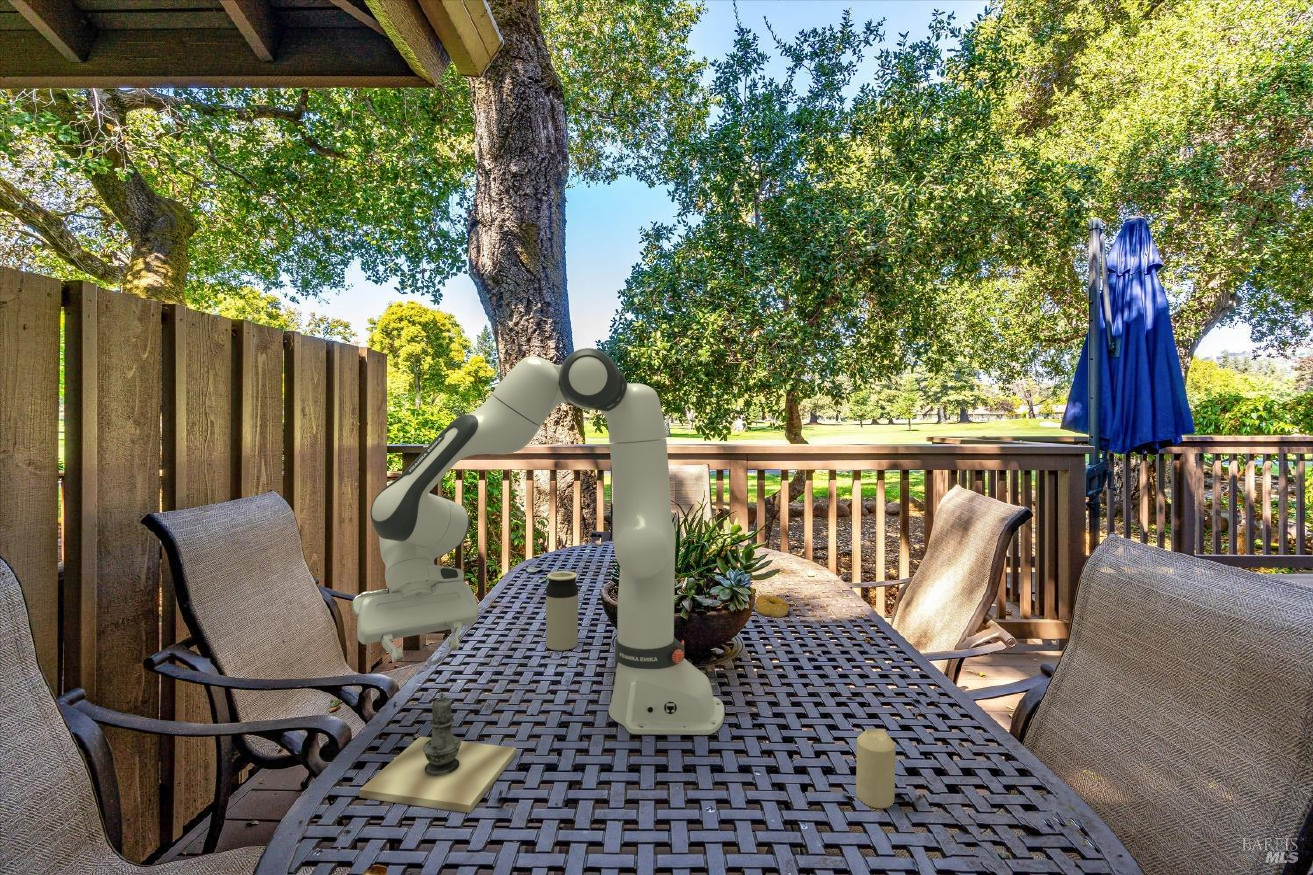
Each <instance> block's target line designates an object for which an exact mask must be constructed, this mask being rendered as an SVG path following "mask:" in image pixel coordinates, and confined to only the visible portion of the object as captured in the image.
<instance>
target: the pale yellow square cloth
mask: <svg viewBox="0 0 1313 875" xmlns="http://www.w3.org/2000/svg"><path fill="white" fill-rule="evenodd" d="M431 738H432V737H430V736H429V737H427V736H419V737H418V738H417V739H416V740H414V741H413V742H412V743H410V745H408V747H406V748H405V749H404V750H402V752H400V753H399V754H398V755H397V756H396V757H395V758H394V759H393V760H391V762H389V763H388V764H387V765H385V766H384V767H383V768H382V769H381V770H380V771H379V772H377V774H375V775H374V776H373V777H372V778H371V779H370V780H369V781H367V782H366V783H365V784H364V785H363V786H362V787H360V789H358V790H359V791H358V792H359V793H358V794H359V798H360V799H361V798H362V799H367V800H368V799H369V800H374V801H375V800H376V801H382V802H390V803H397V804H402V805H412V806H417V807H425V808H431V809H439V810H444V811H445V810H446V811H453V812H459V813H467V814H471V812H472V811H473V810H474V809H475V808H476V806H477V805H478V804H479V803H480V802H481V800H482V799H483V798H484V796H485V795H486V794H485V793H488V791H489V790H490V789H491V787H492V786H493V785H494V784H495V782H496V781H497V780H498V778H500V776H501V775H500V774H502V773H503V772H504V771H505V769H507V767H508V766H509V765H510V763H511V762H512V761H513V760H514V758H515V757H516V756H517V747H513V746H504V745H496V744H488V743H478V742H471V741H469V742H468V741H462V740H461V745H460V747H459V751H458V754H457V756H456V757H455V758H456V759H457V760H458V761H459V767H458V768H457V769H456V770H455V771H454V772H452V773H450V774H447V775H443V776H431V775H428V774H427V773H426V772H425V767H426V765H427V764H428V763H429V761H428V760H427V758H426V756H425V753H424V752H423V745H424V744H425V743H426V742H427V741H429V740H430V739H431ZM484 794H485V795H484Z"/></svg>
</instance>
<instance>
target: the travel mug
mask: <svg viewBox="0 0 1313 875" xmlns="http://www.w3.org/2000/svg"><path fill="white" fill-rule="evenodd" d="M577 576H578V574H577V573H576V572H574V571H569V570H568V571H567V570H564V571H562V570H559V571H552V572H549V573H548V574H547V575H546V577H547V580H548V583H547V586H546V587H545V646H546V647H547V649H550V650H552V651H560V652H563V651H569V649H570V650H572V649H575V648H576V647H577V646H578V645H579V586H578V584H577V582H576V581H577V580H576V579H577Z"/></svg>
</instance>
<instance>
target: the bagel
mask: <svg viewBox="0 0 1313 875" xmlns="http://www.w3.org/2000/svg"><path fill="white" fill-rule="evenodd" d="M754 606H755V610H756V612H757V614H759V615H761V616H764V617H770V618H777V619H780V618H783V617H786V616H787V615H788V613H789V608H790V606H789V604H787V602H786V601H785V599H783V598H782V597H778V596H774V595H768V594H767V595H766V594H760V595H758V597H756V600H755V603H754Z"/></svg>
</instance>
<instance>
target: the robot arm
mask: <svg viewBox="0 0 1313 875" xmlns="http://www.w3.org/2000/svg"><path fill="white" fill-rule="evenodd" d="M626 379H627V378H626V377H624V375H623V373H622V372H621V371H620V369H619V367H618V366H617V364H616V363H615V361H614V360H613V358H611V357H610V356H609V355H608V354H606V353H605V352H603V351H602V350H600V349H597V348H590V347H589V348H588V347H587V348H586V347H585V348H580V349H577V350H575V351H572V352H571V353H570V354H569V355H567V357H566V358H565V359H564V361H563V362H562V363H561V364H554V363H552V362H551V361H550V360H547V359H546V358H543V357H540V356H535V355H533V356H532V355H530V356H526V357H524V358H522V359H521V360H520V361H519V362H518V363H516V365H514V366H513V367H512V369H511V370H510V371H509V372H508V373H507V374H506V375H505V376H504V377H503V378H502V380H501V381H500V382H499V383H498V385H497V386H496V387H495V389H494V390H493V391H492V393H491V394H490V396H489V397H488V398H487V399H486V400H485V401H484V403H482V404H481V405H480V406H479V407H478V408H476V409H475V410H474V411H472V412H470V413H468V414H465V415H464V414H463V415H459V416H457V418H455V419H453V420H452V421H451V422H450V423H449V424H448V425H447V426H446V427H445V428H444V429H443V430H442V431H440V433H439V434H437V436H436V437H435V438H434V439H433V440H432V441H431V442H430V444H429V445H428V446H427V447H426V448H425V449H424V450H422V452H421V453H420V454H419V455H418V456H417V457H416V458H415V460H413V461H412V462H411V464H410V465H409V466H408V467H407V468H406V469H405V470H404V471H403V472H402V473H401V474H400V475H399V476H398V477H397V478H396V479H395V480H393V481H392V482H391V483H389V484H388V485H386V487H384V488H383V489H381V491H380V492H379V493H378V494H377V495H376V496H375V498H374V500H373V501H372V504H371V507H370V520H371V523H372V526H373V528H374V530H375V532H376V533H377V535H378V543H379V550H380V557H381V560H382V562H383V564H384V566H385V571H384V579H385V585H386V588H382V589H376V590H371V591H369V590H368V591H363V592H360V594H358V595H356V596H355V597H354V598H353V600H352V602H351V603H352V604H351V605H352V611H353V613H354V615H355V616H357V625H356V626H357V627H356V632H357V633H356V634H357V640H358V642H359V643H361V644H362V645H369V644H375V643H381V645H382V648H383V649H384V650H385V651H386V652H387V653H388V654H389V655H390V656H391V657H390V658H391V662H392V663H393V664H394V663H398V662H402V661H403V659H404V654H403V647H396V646H395V644H394V643H393V642H392V641H393V640H396V639H397V640H398V639H403V638H408V637H413V636H419V635H425V634H428V633H429V634H430V633H434V632H441V631H445V630H451V634H454V636H453V637H450V638H449V639H448V640H447V647H448V650H449V652H452V651H458V650H459V649H460V640H459V635H460V633H461V630H462V628H463V627H467V626H468V627H469V626H472V625H474V624H475V622H476V620H477V619H478V617H479V614H480V613H479V612H480V610H479V606H478V602H477V600H476V597H475V594H474V592H473V589H472V588H471V586H470V585H469V584H468V583H467V582H465V581H464V580H465V579H464V578H465V572H464V570H462V569H461V568H454V567H447V566H444V565H443V566H442V565H437V564H435V559H437V558H440V557H443V556H445V555H447V554H448V553H450V552H452V551H453V550H455V549H457V547H459V546H460V545H462V543H463V542H464V541H465V540H466V538H467V536H468V533H469V530H470V515H469V513H468V510H467V508H466V507H465V506H463V505H462V504H460V503H458V502H455V501H453V500H451V499H448V498H445V497H442V496H438V495H435V494H433V493H430V492H431V491H432V490H433V489H434V487H435V486H437V484H438V483H439V482H440V481H441V480H442V479H443V478H444V477H445V475H447V473H448V472H449V471H450V470H451V469H452V468H453V467H454V466H455V465H456V464H457V463H458V462H459V461H461V460H463V459H465V458H468V457H470V456H476V455H477V456H478V455H488V454H489V455H508V454H514V453H516V452H518V451H521V450H523V449H524V448H525V447H527V445H528V444H529V443H530V442H531V441H533V439H534V437H536V435H537V434H538V432H539V430H540V429H541V427H542V426H543V424H544V422H546V420H547V419H548V417H549V415H551V413H552V412H553V411H554V410H555V409H556V408H557V407H558V406H559V405H561V404H567V405H570V406H573V407H575V408H579V409H582V410H587V411H594V410H598V411H600V412H601V413H602V414H603V415H604V417H605V420H606V422H607V424H606V425H607V429H608V442H609V453H610V454H609V455H610V464H611V466H610V467H611V477H612V525H613V527H612V530H613V534H612V535H613V550H614V556H615V559H616V561H617V565H618V566H619V578H618V579H619V580H618V592H617V623H616V624H617V626H616V628H617V630H616V632H617V634H616V636H617V637H616V639H614V640H615V641H614V649H613V650H614V653H613V654H614V657H613V659H614V668H615V679H614V684H613V685H614V686H613V692H612V696H611V700H610V704H609V707H608V715H609V716H610V718H611V719H612V720H614V721H615V722H616V723H618V724H620V725H621V726H623V727H624V728H625V729H626V731H627V732H628V733H630V734H632V735H678V736H679V735H684V736H685V735H689V736H690V735H693V736H694V735H698V736H700V735H701V736H702V735H703V736H705V735H707V736H708V735H713V733H716V732H717V731H718V730H719V729H720V728H721V727H722V725H723V723H724V720H725V706H724V703H723V701H722V700H721V699H720V698H718V697H717V696H714V694H713V693H714V692H713V689H712V685H711V682H710V679H709V678H708V676H707V675H706V674H705V672H702V671H701V670H699V669H698V668H697V667H696V666H694V665H693V664H692V663H691V662H689V661H688V660H687V659H686V658H685V641H684V639H682V640H681V642H680V641H679V640H678V639H677V638H676V637H675V635H674V634H675V584H676V583H675V580H676V578H675V577H676V576H675V575H676V574H675V573H676V571H675V570H676V569H675V568H676V529H675V525H674V523H673V516H672V504H671V502H672V501H671V481H670V480H671V479H670V478H671V477H670V470H669V457H668V443H667V434H666V433H667V432H666V426H665V419H664V414H663V409H662V405H661V402H660V398H659V395H658V393H657V392H656V390H655V389H654V388H653V387H651V386H649V385H646V384H644V383H639V382H638V383H636V382H635V383H634V382H632V383H628V381H627V380H626Z"/></svg>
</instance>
